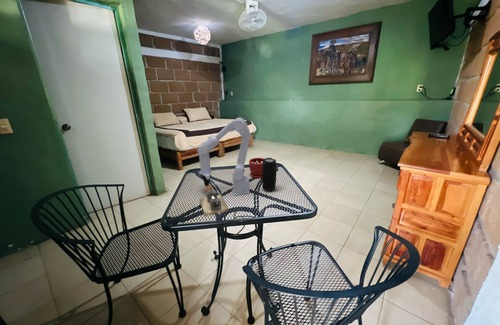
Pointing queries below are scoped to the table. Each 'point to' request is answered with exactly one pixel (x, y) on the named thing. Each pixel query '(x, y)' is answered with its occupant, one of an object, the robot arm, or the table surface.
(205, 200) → the bearing board
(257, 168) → the plant pot
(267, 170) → the portable speaker
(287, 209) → the table surface
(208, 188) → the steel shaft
